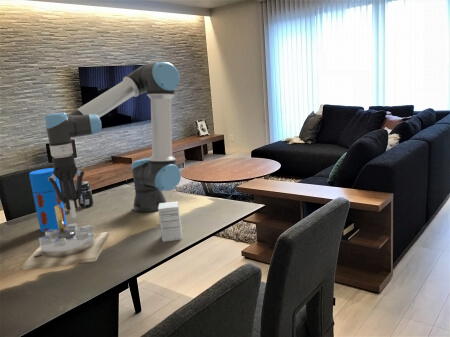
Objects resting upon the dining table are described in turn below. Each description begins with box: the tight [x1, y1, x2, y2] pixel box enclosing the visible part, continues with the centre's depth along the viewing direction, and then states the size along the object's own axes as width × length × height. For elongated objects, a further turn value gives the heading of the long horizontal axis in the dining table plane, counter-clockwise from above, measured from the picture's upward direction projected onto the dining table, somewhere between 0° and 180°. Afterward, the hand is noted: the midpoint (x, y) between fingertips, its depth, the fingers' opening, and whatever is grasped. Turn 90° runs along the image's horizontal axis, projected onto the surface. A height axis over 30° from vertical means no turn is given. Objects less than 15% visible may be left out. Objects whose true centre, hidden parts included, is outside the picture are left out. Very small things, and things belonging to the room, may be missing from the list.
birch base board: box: [21, 231, 110, 271], centre depth 151 cm, size 24×24×2 cm
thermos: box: [28, 167, 68, 233], centre depth 177 cm, size 11×11×25 cm
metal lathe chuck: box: [38, 205, 95, 257], centre depth 150 cm, size 18×18×14 cm
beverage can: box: [75, 180, 94, 209], centre depth 207 cm, size 7×7×12 cm
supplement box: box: [157, 200, 183, 242], centre depth 154 cm, size 7×7×13 cm
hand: (73, 217), depth 158 cm, fingers closed
